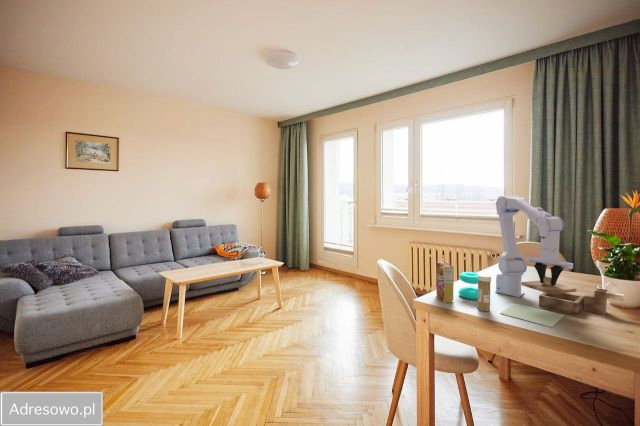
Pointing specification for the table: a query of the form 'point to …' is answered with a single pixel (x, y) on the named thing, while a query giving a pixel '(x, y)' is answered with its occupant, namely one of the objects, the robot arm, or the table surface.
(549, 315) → the mat
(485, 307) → the sprinkles bottle
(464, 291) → the donuts
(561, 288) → the lid
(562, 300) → the toolbox
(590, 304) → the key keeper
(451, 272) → the candy box
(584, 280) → the table surface
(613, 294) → the cream rectangular bar
